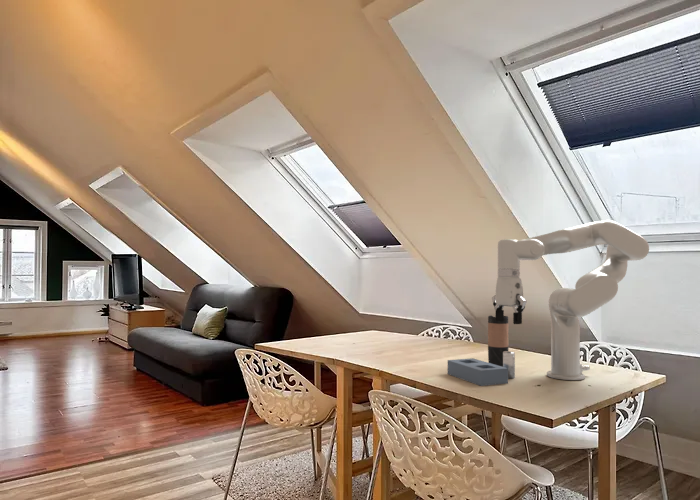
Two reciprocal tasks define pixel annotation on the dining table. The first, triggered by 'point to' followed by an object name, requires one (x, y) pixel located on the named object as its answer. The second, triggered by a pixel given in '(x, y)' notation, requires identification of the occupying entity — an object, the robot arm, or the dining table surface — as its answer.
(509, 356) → the bushing
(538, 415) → the dining table surface
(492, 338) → the travel mug
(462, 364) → the block
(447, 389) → the dining table surface
